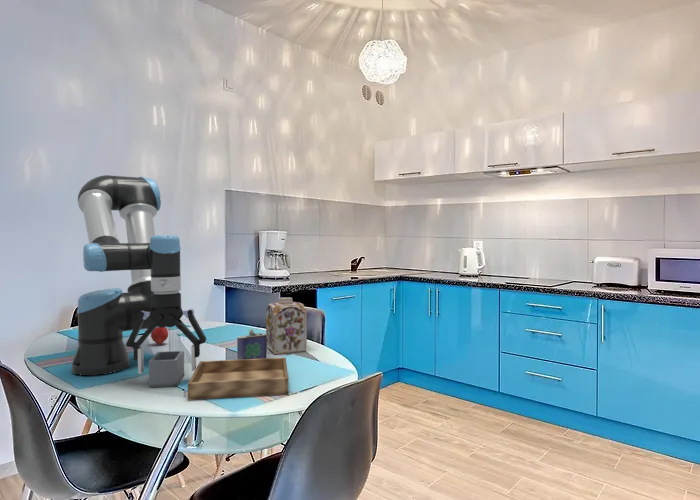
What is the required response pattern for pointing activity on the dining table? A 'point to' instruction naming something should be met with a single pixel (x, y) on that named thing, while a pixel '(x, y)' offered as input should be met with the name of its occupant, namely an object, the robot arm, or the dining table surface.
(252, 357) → the flask
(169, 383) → the small crate
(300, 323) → the decorative jar
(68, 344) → the dining table surface
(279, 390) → the tray
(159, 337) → the onion
